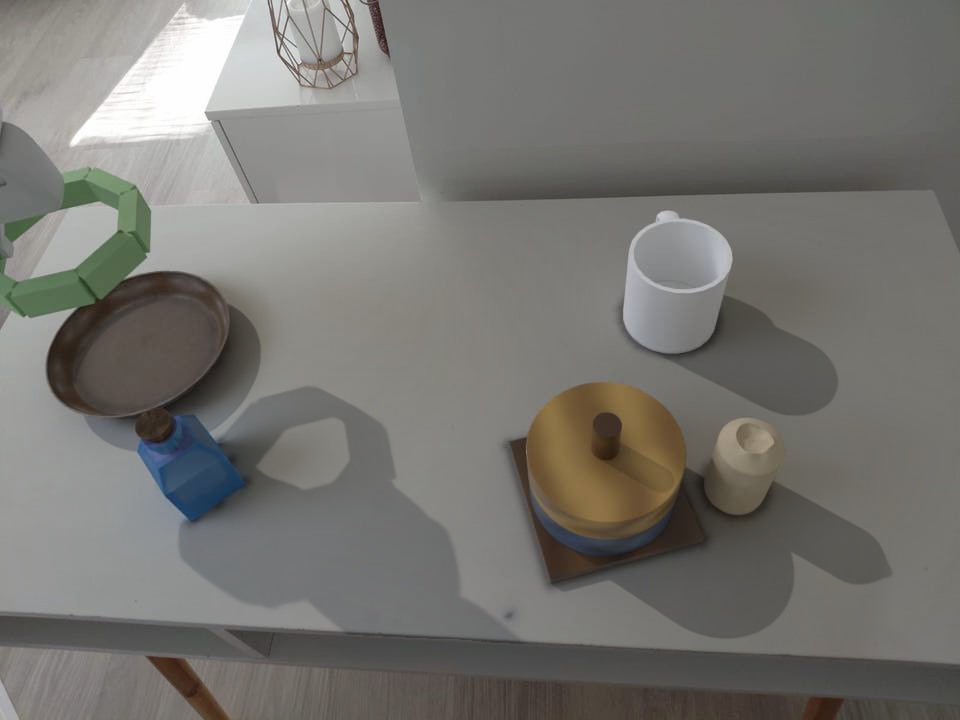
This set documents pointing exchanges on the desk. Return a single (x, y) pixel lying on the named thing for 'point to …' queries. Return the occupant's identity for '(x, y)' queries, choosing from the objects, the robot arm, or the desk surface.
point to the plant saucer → (138, 345)
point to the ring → (101, 265)
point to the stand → (604, 479)
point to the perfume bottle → (185, 461)
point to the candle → (743, 465)
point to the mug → (675, 283)
